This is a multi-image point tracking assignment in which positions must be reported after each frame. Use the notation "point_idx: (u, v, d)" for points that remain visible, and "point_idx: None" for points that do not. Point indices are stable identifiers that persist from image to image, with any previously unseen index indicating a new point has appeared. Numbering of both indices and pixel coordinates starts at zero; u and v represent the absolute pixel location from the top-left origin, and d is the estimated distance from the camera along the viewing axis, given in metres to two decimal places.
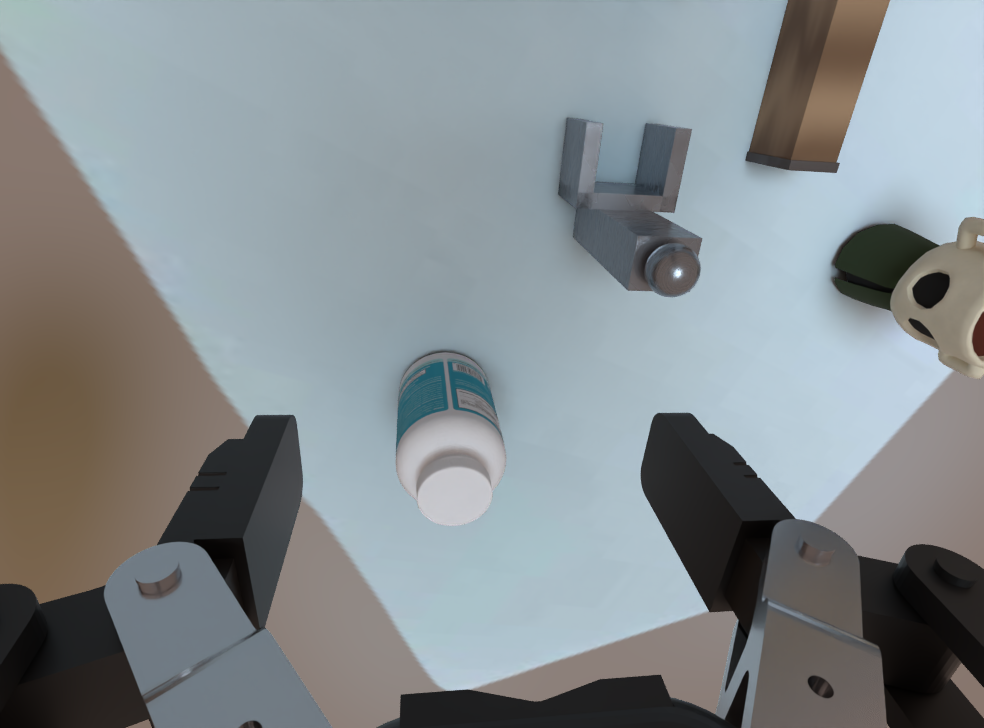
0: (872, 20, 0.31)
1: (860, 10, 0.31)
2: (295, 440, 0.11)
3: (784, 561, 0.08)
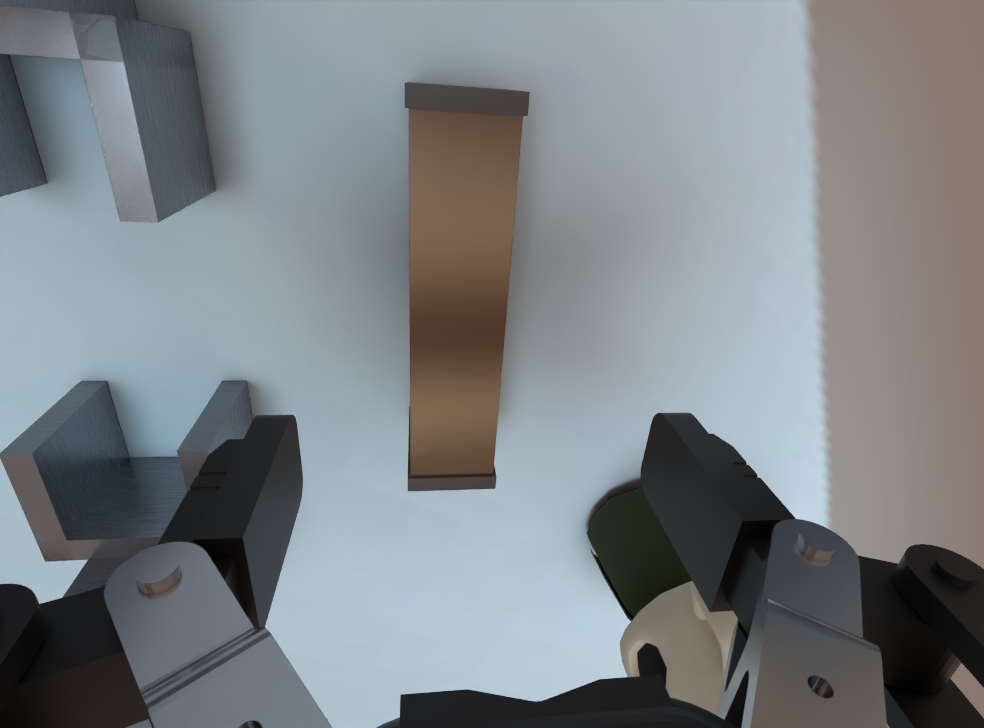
0: (488, 283, 0.18)
1: (459, 269, 0.17)
2: (295, 440, 0.11)
3: (784, 561, 0.08)
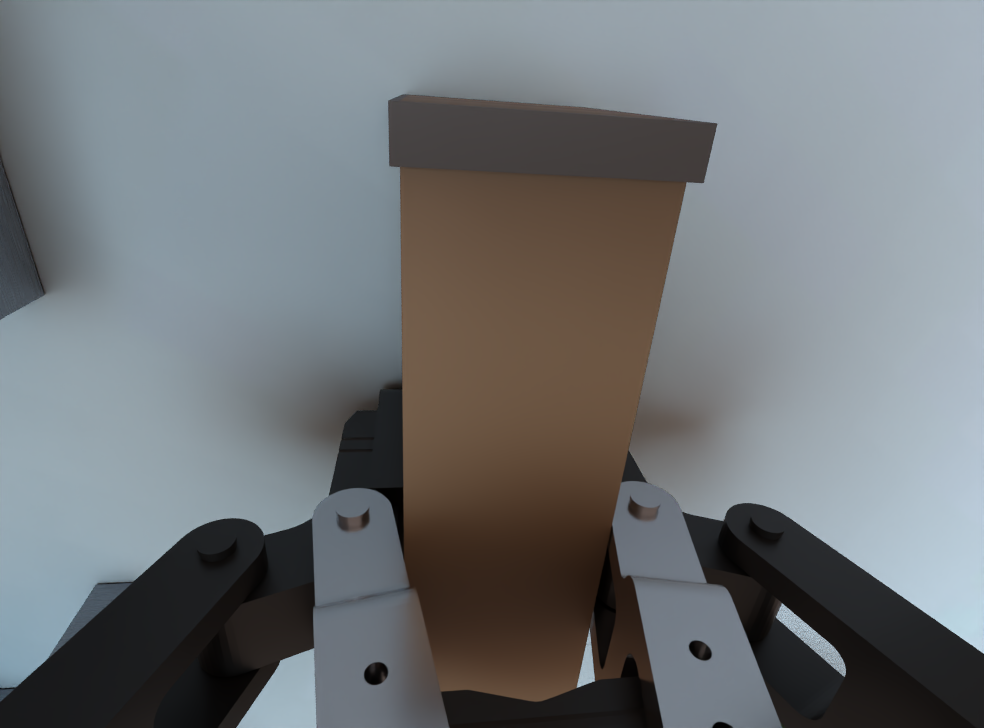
0: (570, 520, 0.08)
1: (513, 500, 0.08)
2: None
3: (626, 528, 0.08)
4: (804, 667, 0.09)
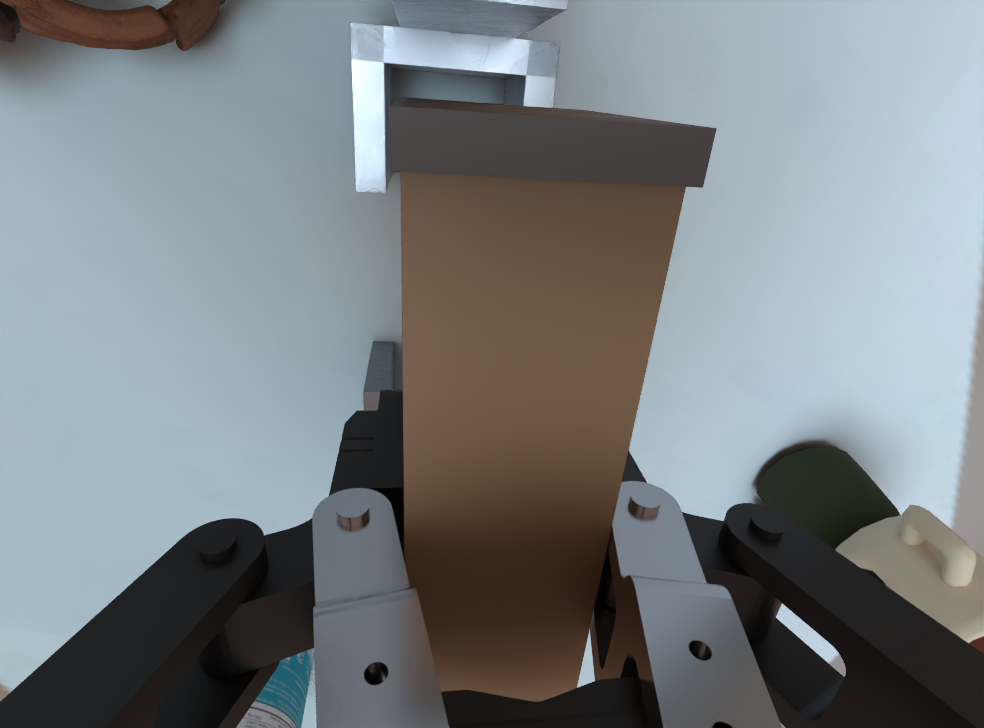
0: (570, 522, 0.08)
1: (512, 502, 0.08)
2: None
3: (626, 528, 0.08)
4: (804, 667, 0.09)
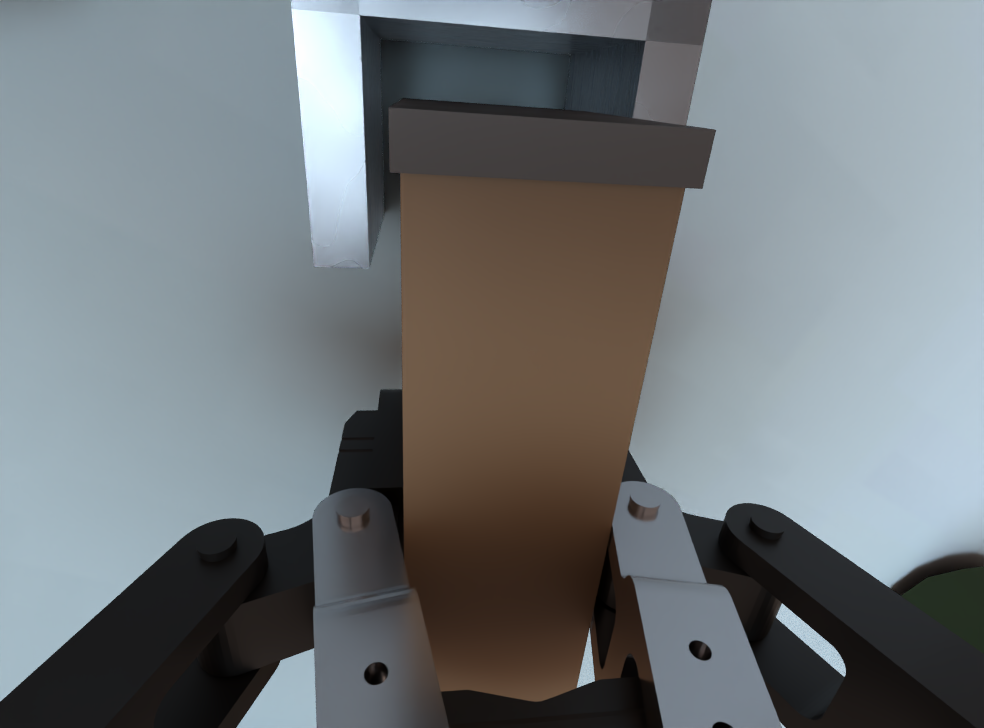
0: (570, 523, 0.08)
1: (513, 503, 0.08)
2: None
3: (626, 528, 0.08)
4: (804, 667, 0.09)
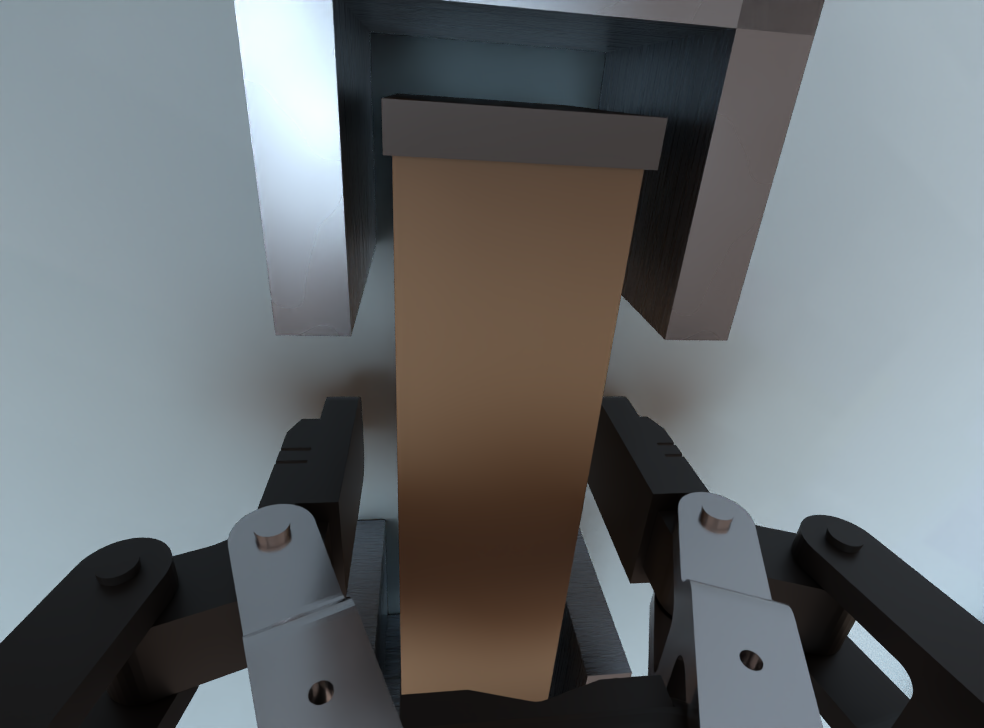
0: (549, 479, 0.09)
1: (496, 459, 0.09)
2: (361, 421, 0.12)
3: (693, 536, 0.08)
4: (874, 690, 0.08)
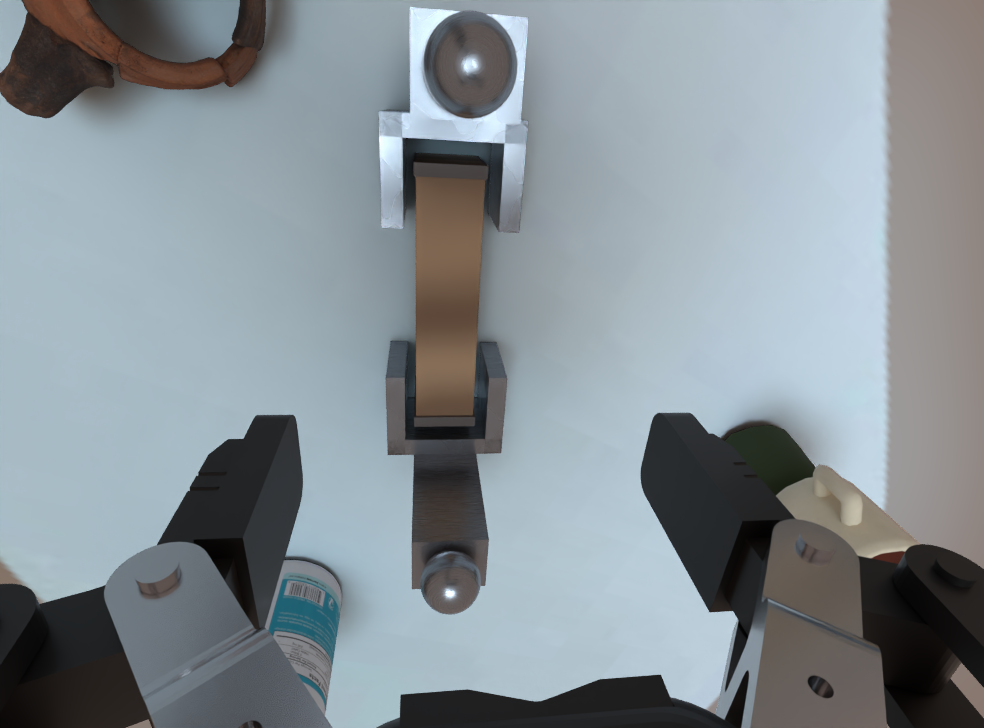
0: (466, 283, 0.27)
1: (448, 274, 0.27)
2: (295, 440, 0.11)
3: (784, 561, 0.08)
4: None
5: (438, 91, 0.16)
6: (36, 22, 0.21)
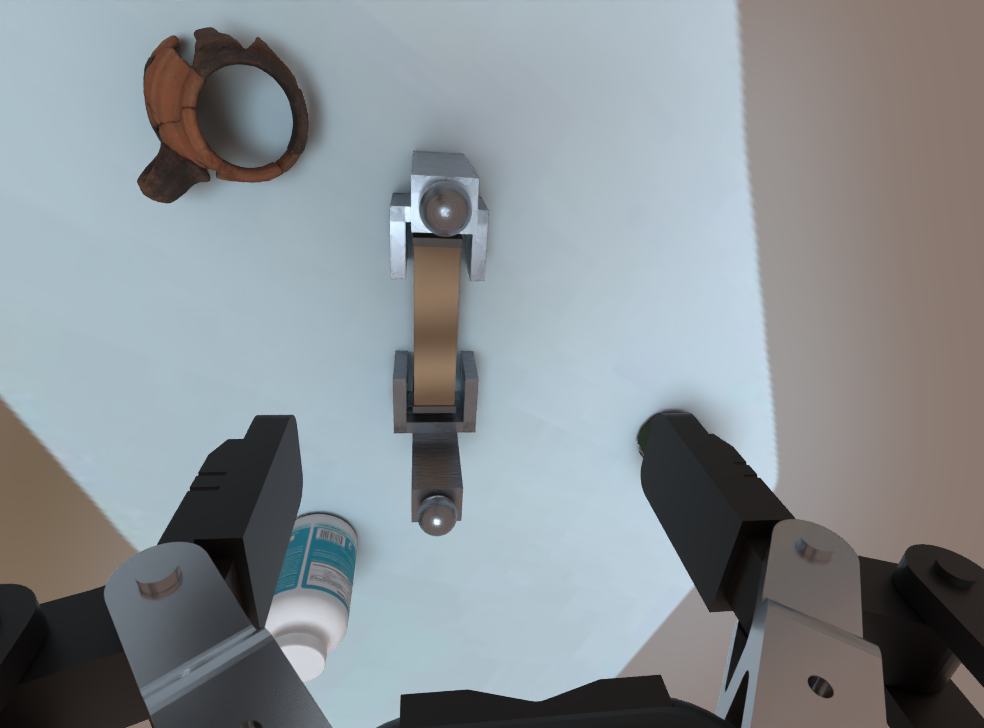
0: (448, 314, 0.40)
1: (436, 308, 0.39)
2: (295, 440, 0.11)
3: (784, 561, 0.08)
4: None
5: (427, 225, 0.28)
6: (167, 148, 0.32)
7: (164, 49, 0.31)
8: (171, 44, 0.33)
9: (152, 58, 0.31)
